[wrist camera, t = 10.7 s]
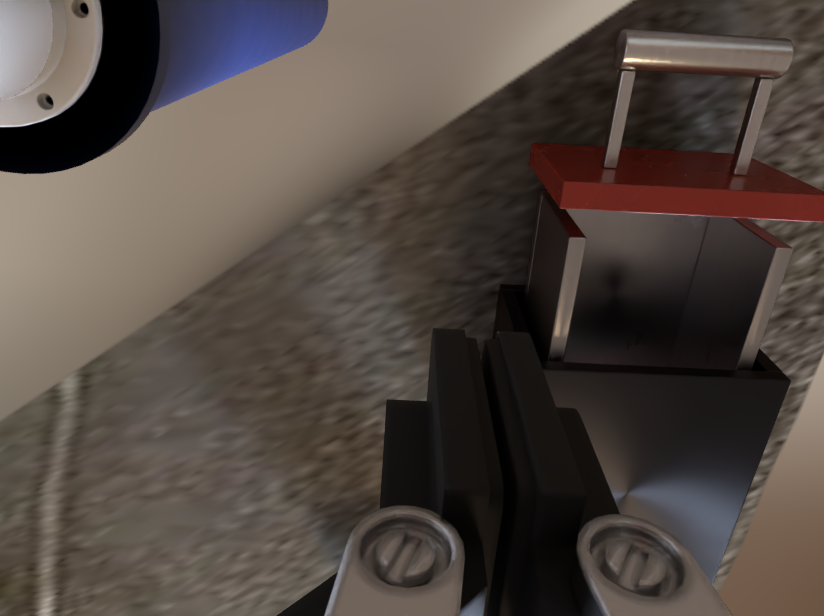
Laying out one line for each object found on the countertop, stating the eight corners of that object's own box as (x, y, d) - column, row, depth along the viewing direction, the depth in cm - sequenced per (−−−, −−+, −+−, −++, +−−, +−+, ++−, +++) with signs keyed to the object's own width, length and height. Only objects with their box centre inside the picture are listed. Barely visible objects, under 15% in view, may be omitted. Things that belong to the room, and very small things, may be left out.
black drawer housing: (499, 283, 37) (525, 368, 29) (705, 293, 38) (792, 380, 29) (475, 471, 44) (490, 586, 35) (651, 479, 44) (709, 594, 36)
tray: (548, 21, 30) (589, 28, 23) (778, 35, 31) (887, 46, 24) (501, 361, 39) (521, 440, 32) (681, 369, 39) (740, 449, 32)
